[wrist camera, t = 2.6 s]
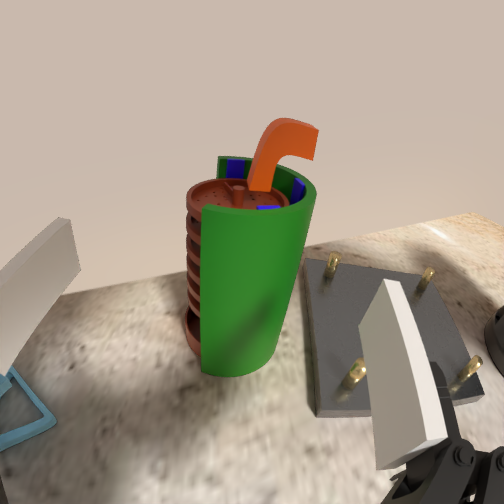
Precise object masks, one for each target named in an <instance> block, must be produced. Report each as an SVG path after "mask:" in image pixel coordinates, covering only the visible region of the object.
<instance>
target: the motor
mask: <svg viewBox="0 0 504 504" xmlns="http://www.w3.org/2000/svg"><path fill="white" fill-rule="evenodd" d="M318 131H319V130H318V129H316V128H315V127H313V126H312V125H310V124H307V123H304V122H301V121H298V120H294V119H290V118H279V119H276V120H274V121H273V122H272V123H270V124H269V126H268V127H267V128H266V130H265V131H264V133H263V135H262V137H261V139H260V141H259V144H258V146H257V149H256V152H255V155H254V158H246V157H234V156H233V157H232V156H218V164H217V177H216V179H211V180H207V181H204V182H200V183H198V184H196V185H195V186H193V187H191V188H190V189H189V191H188V192H187V197H186V198H187V199H186V200H187V202H186V207H187V210H188V214H187V217H186V229H187V233H188V234H187V238H186V248H187V270H188V271H187V285H188V302H189V306H188V308H187V311H186V314H185V325H186V337H187V341H188V344H189V346H190V347H191V349H192V350H193V351H194V352H195V353H196V354H197V355H198V356H199V357H201V372H204V373H207V374H210V375H214V376H219V377H237V376H242V375H246V374H249V373H251V372H254V371H256V370H257V369H259V368H261V367H262V366H263V365H265V364H266V363H267V362H268V361H269V359H270V358H271V357H272V355H273V353H274V351H275V348H276V345H277V342H278V338H279V335H280V332H281V328H282V325H283V322H284V318H285V315H286V311H287V308H288V304H289V301H290V297H291V293H292V290H293V286H294V283H295V279H296V275H297V271H298V268H299V264H300V260H301V256H302V253H303V249H304V245H305V241H306V237H307V233H308V229H309V224H310V221H311V216H312V212H313V208H314V204H315V199H316V195H317V194H316V189H315V187H314V185H313V184H312V183H311V182H310V181H309V180H308V179H307V178H305V177H304V176H302V175H301V174H299V173H297V172H296V171H294V170H291V169H289V168H287V167H284V166H281V165H278V164H277V163H278V161H279V160H280V159H281V158H282V157H283V156H286V155H294V156H298V157H302V158H306V159H309V160H312V161H313V157H314V152H315V147H316V142H317V137H318Z"/></svg>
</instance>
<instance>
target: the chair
mask: <svg viewBox="0 0 504 504" xmlns="http://www.w3.org/2000/svg"><path fill="white" fill-rule="evenodd" d="M12 377H14V378H15V379H16V380H17V382H18V383H19V384H20V386H21V387H22V388H23V390H24V391H25V392H26V394H27V395H28V396H29V398H30V399H31V400H32V401H33V403H34V404H35V405H36V406H37V407H38V409H39V410H40V411H41V412H42V413H43V415H44V417H43V418H41V419H39V420H37V421H34V422H32V423H30V424H27V425H25V426H22V427H19V428H17V429H14V430H12V431H9V432H6V433H4V434H1V435H0V452H1V451H3V450H5V449H7V448H9V447H11V446H13V445H15V444H18V443H20V442H22V441H25V440H27V439H29V438H31V437H33V436H36V435H38V434H40V433H42V432H44V431H46V430H48V429H49V428H51V427H53V426H54V425H55V424H56V423H57V420H56V418H55V417H54V415H53V414H52V413H51V412H50V411H49V410H48V409H47V408H46V406H45V405H44V404H43V403H42V402H41V401H40V400H39V398H38V397H37V396H36V395H35V394H34V393H33V391H32V390H31V389H30V388H29V386H28V385H27V384H26V383H25V381H24V380H23V379H22V378H21V376H20V375H19V374H18V372H17V371H16V370H15V368H14V367H13V366H12V365H11V367H10V368H9V370H8V371H7V373H6V375H5V376H3V375H2V374H0V399H1V397H2V395H3V394H4V393H5V392H6V391H7V390H8V389H9V388H10V387H12V386H13V385H12V384H11V383H10V380H11V378H12Z"/></svg>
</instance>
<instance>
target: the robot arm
mask: <svg viewBox="0 0 504 504" xmlns="http://www.w3.org/2000/svg"><path fill="white" fill-rule="evenodd" d="M80 271H81V269H80V264H79V260H78V256H77V251H76V247H75V241H74V236H73V231H72V226H71V221H70V220H69V219H64V218H59V217H58V218H57V219H56V220H54V221H53V222H52V223H51V224H50V225H49V226H47V227H46V228H45V229H44V230H43V231H42V232H41V233H39V234H38V235H37V236H36V237H35V238H34V239H33V240H32V241H31V242H29V243H28V244H27V245H26V246H25V247H24V248H23V249H22V250H21V251H20V252H19V253H18V254H17V255H16V256H15V257H14V258H13V259H12V260H10V261H9V262H8V264H7V265H5V267H4V268H3V269H2V270H1V271H0V374H2V375H3V376H5V375H6V373H7V371H8V370H9V368H10V367H11V365H12V363H13V362H14V360H15V359H16V357H17V355H18V354H19V352H20V351H21V349H22V348H23V346H24V345H25V343H26V342H27V340H28V339H29V337H30V336H31V335H32V333H33V332H34V330H35V329H36V327H37V326H38V325H39V323H40V322H41V320H42V319H43V318H44V316H45V315H46V314H47V312H48V311H49V310H50V308H51V307H52V306H53V304H54V303H55V302H56V300H57V299H58V298H59V297H60V295H61V294H62V293H63V291H64V290H65V289H66V288H67V286H68V285H69V284H70V283H71V281H72V280H73V279H74V277H76V275H77V274H78V273H79V272H80ZM358 327H359V333H360V338H361V344H362V349H363V355H364V362H365V368H366V375H367V382H368V389H369V396H370V404H371V413H372V422H373V432H374V443H375V457H376V470H386V469H394V468H397V467H399V466H401V465H403V464H405V463H406V470H404V471H402V472H400V473H398V474H396V475H394V476H393V477H392V478H391V479H390V480H391V481H393V480H395V479H397V478H398V480H397V481H396V482H395V484H394V486H393V487H392V489H391V490H390V492H389V493H388V494H387V496H386V497H385V498H384V500H383V501H382V502H381V504H504V446H500V447H498V448H497V449H495V450H493V451H492V452H490V453H488V452H482V451H477V450H475V449H474V447H473V445H472V444H471V443H470V442H469V441H467V440H465V439H462V438H461V435H460V432H459V428H458V423H457V419H456V415H455V411H454V407H453V403H452V400H451V399H450V393H449V389H448V388H447V382H446V379H445V376H444V373H443V371H442V370H441V368H440V367H439V365H438V364H437V362H430V361H428V358H427V355H426V352H425V349H424V346H423V343H422V340H421V337H420V334H419V331H418V328H417V325H416V322H415V320H414V317H413V314H412V312H411V309H410V306H409V304H408V301H407V299H406V296H405V294H404V291H403V289H402V286H401V284H400V282H398V281H393V280H388V279H383V281H382V283H381V285H380V287H379V289H378V291H377V293H376V295H375V297H374V298H373V300H372V302H371V304H370V306H369V308H368V310H367V312H366V313H365V315H364V317H363V319H362V321H361V322H360V324H359V326H358ZM485 340H486V344H487V348H488V350H489V353H490V355H491V357H492V359H493V361H494V363H495V364H496V366H497V368H498V369H499V370H500V372H501V373H502V374H503V376H504V305H503V306H502V307H501V308H500V309H498V310H497V311H496V312H495V313H494V314H493V316H492V317H491V318H490V320H489V321H488V322H487V324H486V327H485ZM475 493H476V494H475ZM473 494H475V498H474V501H472V502H470V496H471V495H473ZM0 504H8V500H7V497H6V494H5V491H4V487H3V484H2V480H1V477H0Z"/></svg>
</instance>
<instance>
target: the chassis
mask: <svg viewBox="0 0 504 504" xmlns="http://www.w3.org/2000/svg"><path fill="white" fill-rule="evenodd" d="M341 257H342V256H341V254H340V253H338V252H336V251H332V252H331V253H330V256H329V259H328V261H322V260H316V259H309V258H305V261H304V265H303V273H304V281H305V290H306V299H307V308H308V318H309V328H310V339H311V350H312V362H313V375H314V389H315V405H316V417H324V418H335V417H368V416H372V413H371V404H370V396H369V389H368V382H367V375H366V368H365V362H364V355H363V349H362V344H361V338H360V333H359V327H358V326H359V324H360V322H361V321H362V319H363V317H364V315H365V313H366V312H367V310H368V308H369V306H370V304H371V302H372V300H373V298H374V297H375V295H376V293H377V291H378V289H379V287H380V285H381V283H382V281H383V279H388V280H393V281H398V282H400V284H401V286H402V289H403V291H404V294H405V296H406V299H407V301H408V304H409V306H410V309H411V312H412V314H413V317H414V320H415V322H416V325H417V328H418V331H419V334H420V337H421V340H422V343H423V346H424V349H425V352H426V355H427V358H428V361H430V362H437V364H438V365H439V367H440V368H441V370H442V371H443V373H444V376H445V379H446V382H447V388H448V389H449V393H450V399H451V400H452V403H453V406H458V405H463V404H468V403H472V402H477V401H478V400H479V399H480V398H481V397H482V396H484V395H485V394H484V391H483V388H482V385H481V383H480V380H479V378H478V375H477V373H476V370H477V369H478V368H479V367H480V366H481V365H482V364H483V361H482V359H481V357H480V356H478V355H475V356H474V357H473V358H472V359H471V358H470V356H469V353H468V351H467V349H466V347H465V345H464V342H463V340H462V338H461V336H460V334H459V332H458V330H457V327H456V325H455V323H454V321H453V319H452V317H451V315H450V313H449V312H448V310H447V308H446V306H445V304H444V302H443V300H442V298H441V296H440V295H439V293H438V291H437V289H436V287H435V286H434V284H433V282H432V280H431V279H432V277H433V276H434V274H435V270H434V269H433V268H431V267H427V268H426V270H425V272H424V274H423V275H416V274H410V273H403V272H396V271H389V270H383V269H376V268H369V267H363V266H356V265H349V264H342V263H339V262H340V259H341Z"/></svg>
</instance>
